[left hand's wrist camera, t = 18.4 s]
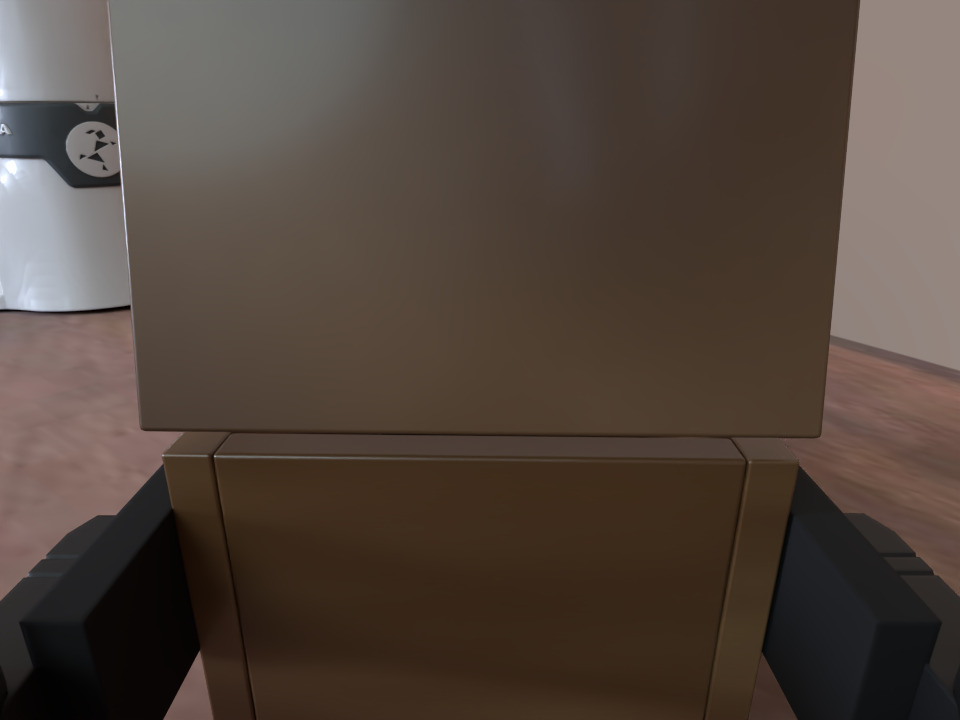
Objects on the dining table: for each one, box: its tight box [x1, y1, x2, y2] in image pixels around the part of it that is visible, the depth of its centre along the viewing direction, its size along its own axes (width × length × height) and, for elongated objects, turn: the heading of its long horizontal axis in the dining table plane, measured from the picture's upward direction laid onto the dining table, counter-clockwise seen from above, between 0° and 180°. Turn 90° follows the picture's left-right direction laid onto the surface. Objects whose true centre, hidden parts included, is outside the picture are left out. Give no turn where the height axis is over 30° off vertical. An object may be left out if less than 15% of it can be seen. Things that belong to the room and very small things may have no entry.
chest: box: [162, 432, 799, 720], centre depth 17 cm, size 14×9×9 cm
